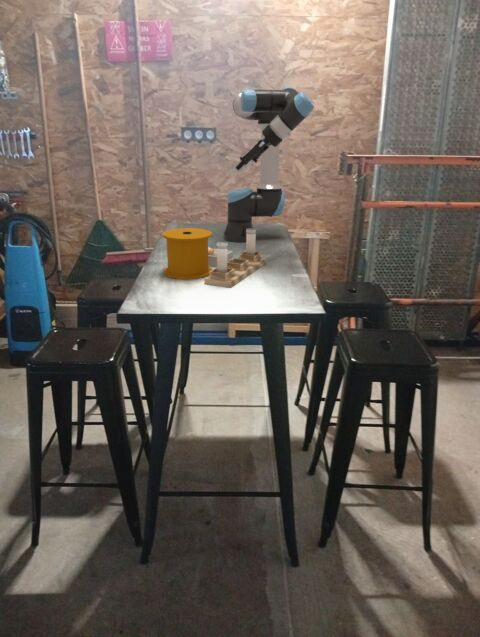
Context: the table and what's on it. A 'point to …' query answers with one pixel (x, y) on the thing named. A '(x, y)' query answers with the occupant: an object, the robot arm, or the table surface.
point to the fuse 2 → (250, 241)
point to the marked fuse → (212, 252)
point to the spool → (187, 253)
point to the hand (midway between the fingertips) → (235, 173)
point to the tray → (213, 259)
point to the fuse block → (236, 270)
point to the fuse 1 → (222, 257)
